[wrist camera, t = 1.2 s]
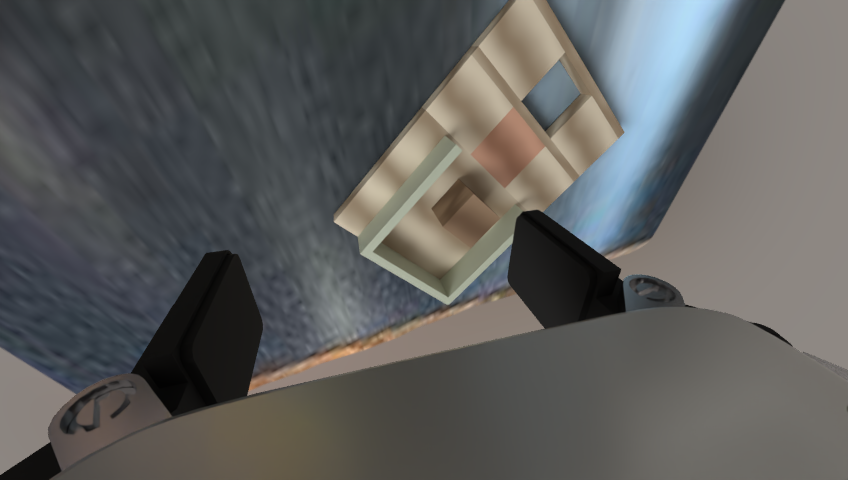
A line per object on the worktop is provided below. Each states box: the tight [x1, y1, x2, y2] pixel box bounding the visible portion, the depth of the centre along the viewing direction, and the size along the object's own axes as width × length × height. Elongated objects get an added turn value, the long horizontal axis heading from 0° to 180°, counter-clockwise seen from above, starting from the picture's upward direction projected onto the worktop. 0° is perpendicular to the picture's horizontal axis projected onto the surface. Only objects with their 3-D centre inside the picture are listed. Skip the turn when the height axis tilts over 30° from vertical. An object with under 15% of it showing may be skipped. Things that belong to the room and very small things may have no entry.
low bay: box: [358, 136, 523, 305], centre depth 40 cm, size 16×15×4 cm
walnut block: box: [431, 179, 500, 248], centre depth 39 cm, size 5×5×5 cm
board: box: [334, 0, 624, 279], centre depth 40 cm, size 32×22×2 cm
